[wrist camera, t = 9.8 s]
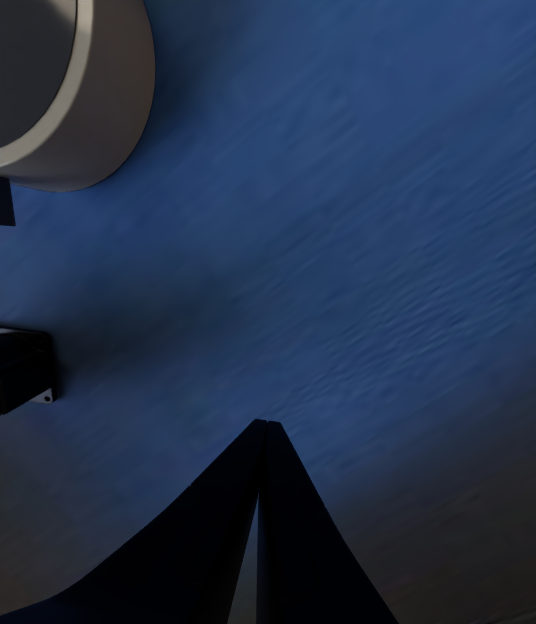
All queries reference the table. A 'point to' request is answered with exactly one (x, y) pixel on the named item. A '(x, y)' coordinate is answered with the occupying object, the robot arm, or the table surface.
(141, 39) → the pot
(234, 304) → the table surface
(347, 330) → the table surface
